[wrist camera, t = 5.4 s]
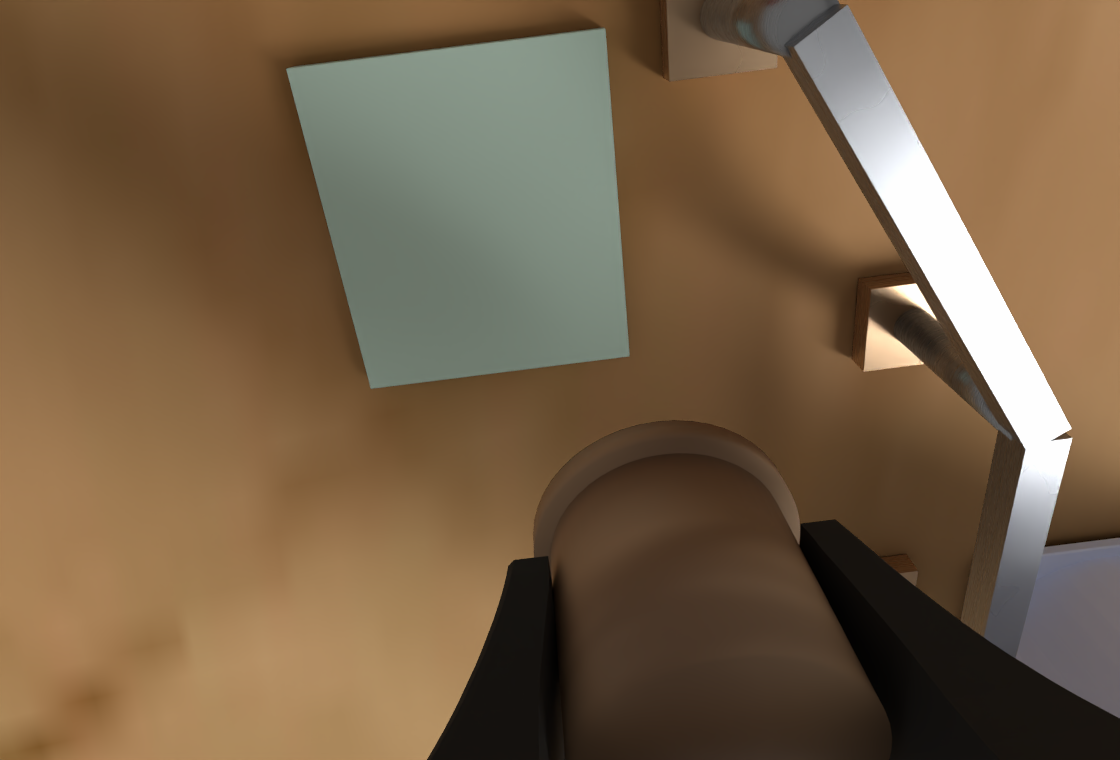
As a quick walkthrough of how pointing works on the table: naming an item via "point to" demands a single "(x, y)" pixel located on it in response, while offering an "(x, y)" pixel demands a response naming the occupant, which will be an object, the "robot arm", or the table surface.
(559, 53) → the pad
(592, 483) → the brown domed cylinder
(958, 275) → the buzz wire
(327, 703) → the table surface
